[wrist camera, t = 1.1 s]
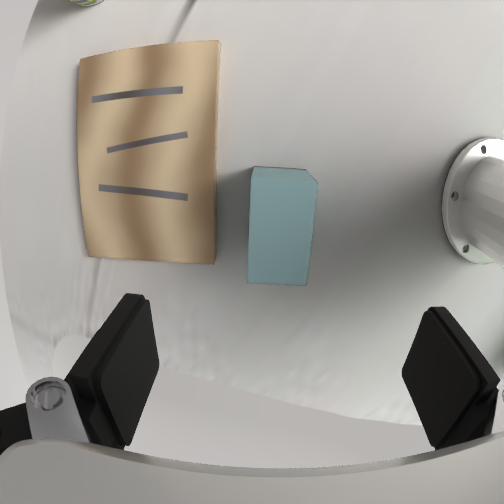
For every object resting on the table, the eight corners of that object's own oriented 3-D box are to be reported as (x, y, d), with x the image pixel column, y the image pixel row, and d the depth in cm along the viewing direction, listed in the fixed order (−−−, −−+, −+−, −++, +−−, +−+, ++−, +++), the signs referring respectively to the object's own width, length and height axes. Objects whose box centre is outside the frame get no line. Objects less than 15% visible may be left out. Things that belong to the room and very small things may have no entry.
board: (220, 44, 20) (218, 40, 19) (215, 258, 27) (213, 264, 26) (86, 60, 20) (79, 59, 19) (94, 251, 27) (88, 256, 26)
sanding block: (254, 166, 24) (250, 177, 18) (305, 169, 24) (317, 181, 18) (251, 249, 26) (247, 282, 21) (298, 251, 26) (306, 285, 21)
